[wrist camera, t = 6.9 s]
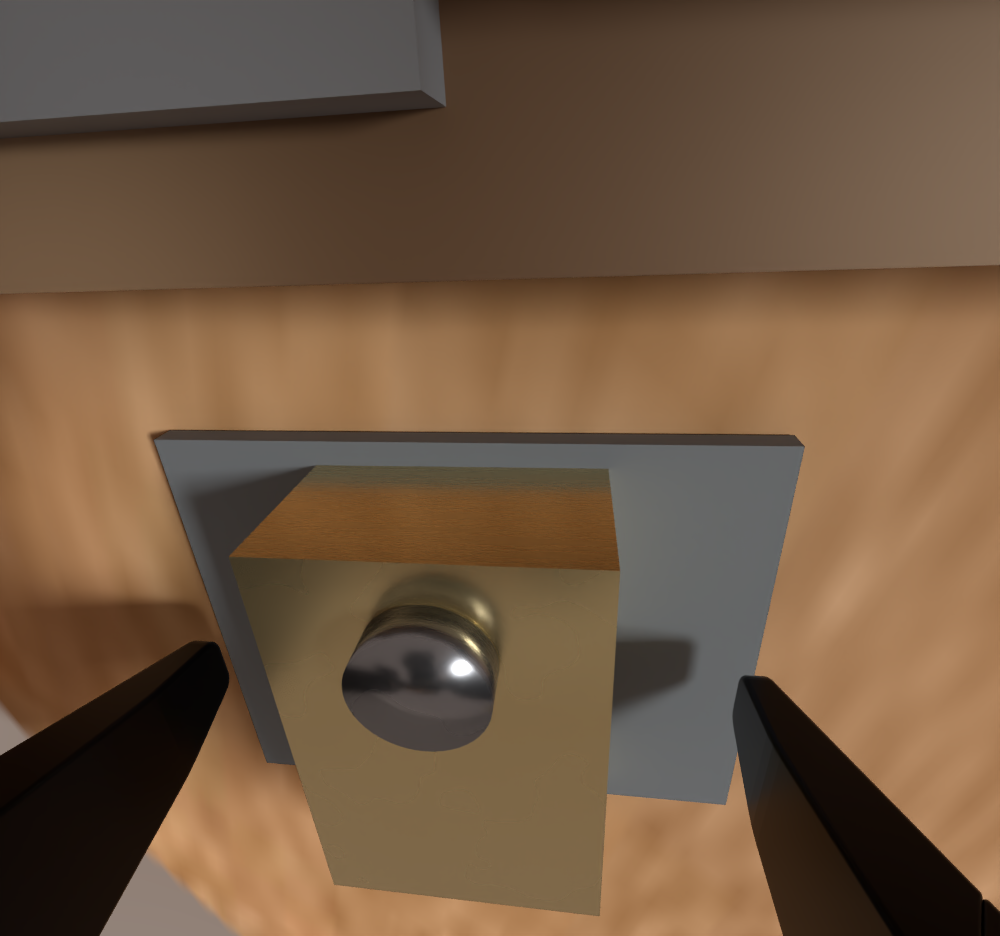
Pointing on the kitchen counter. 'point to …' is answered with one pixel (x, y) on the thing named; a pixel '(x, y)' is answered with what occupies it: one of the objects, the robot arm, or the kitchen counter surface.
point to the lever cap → (446, 673)
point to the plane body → (491, 139)
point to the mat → (642, 558)
